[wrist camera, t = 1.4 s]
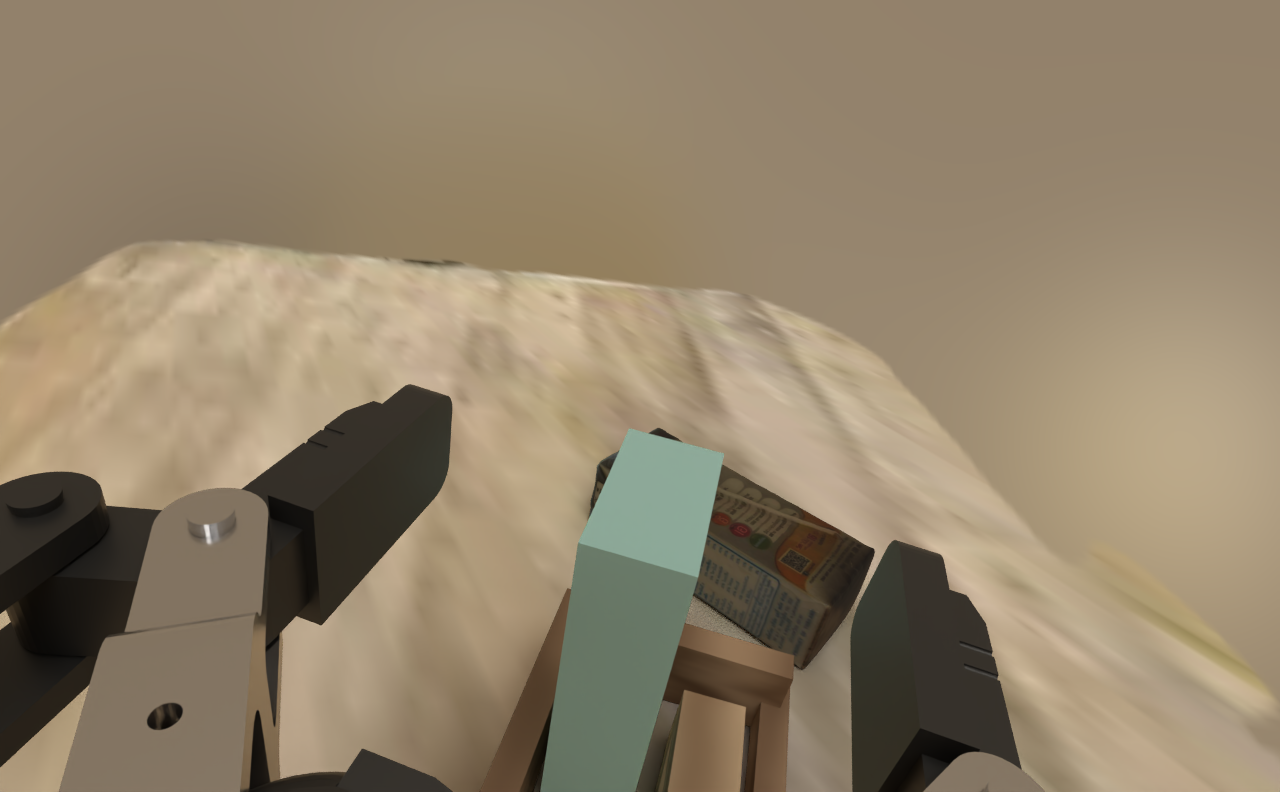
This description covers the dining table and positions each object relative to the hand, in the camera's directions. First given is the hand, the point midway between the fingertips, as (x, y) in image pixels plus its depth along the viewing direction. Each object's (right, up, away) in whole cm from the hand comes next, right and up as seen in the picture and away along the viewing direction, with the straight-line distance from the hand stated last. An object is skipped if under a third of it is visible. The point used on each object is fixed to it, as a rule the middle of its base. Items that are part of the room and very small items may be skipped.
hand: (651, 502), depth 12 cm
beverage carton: (+5, -11, +38) cm, 40 cm away
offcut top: (+3, -17, +21) cm, 27 cm away
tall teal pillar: (-3, -18, +23) cm, 30 cm away
